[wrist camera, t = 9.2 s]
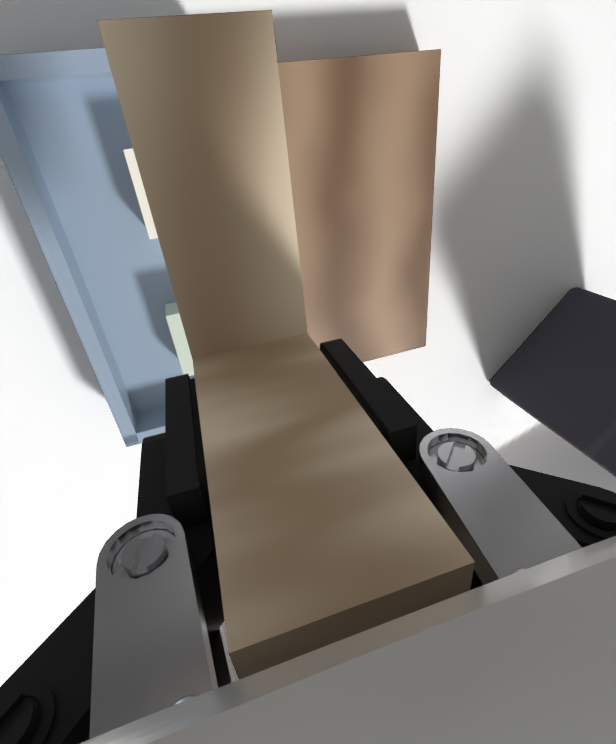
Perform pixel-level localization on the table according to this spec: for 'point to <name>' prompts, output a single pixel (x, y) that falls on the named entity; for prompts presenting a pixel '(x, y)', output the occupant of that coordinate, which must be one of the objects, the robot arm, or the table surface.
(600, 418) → the charcoal rectangular box
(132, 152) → the cream tile
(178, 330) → the sage tile
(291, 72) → the walnut board
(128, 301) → the box
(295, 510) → the bent tan panel
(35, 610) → the table surface
